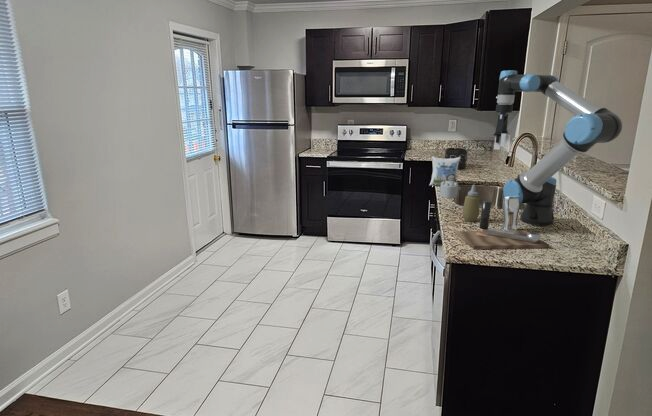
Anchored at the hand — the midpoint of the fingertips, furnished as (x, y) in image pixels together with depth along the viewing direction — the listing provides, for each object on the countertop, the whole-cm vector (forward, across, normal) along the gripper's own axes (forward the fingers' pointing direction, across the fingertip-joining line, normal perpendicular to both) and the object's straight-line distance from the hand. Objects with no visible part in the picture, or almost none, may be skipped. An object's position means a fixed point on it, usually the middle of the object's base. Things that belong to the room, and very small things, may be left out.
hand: (499, 147), depth 209 cm
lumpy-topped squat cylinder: (+35, -28, -30) cm, 54 cm away
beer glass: (+35, +21, +12) cm, 42 cm away
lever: (+33, +37, +14) cm, 52 cm away
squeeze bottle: (+35, +16, -7) cm, 39 cm away
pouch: (+35, -54, -40) cm, 75 cm away
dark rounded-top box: (+35, -126, -51) cm, 141 cm away
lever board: (+35, +39, +11) cm, 54 cm away
